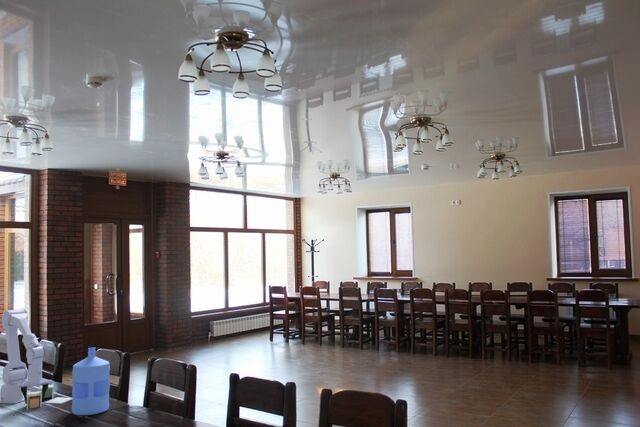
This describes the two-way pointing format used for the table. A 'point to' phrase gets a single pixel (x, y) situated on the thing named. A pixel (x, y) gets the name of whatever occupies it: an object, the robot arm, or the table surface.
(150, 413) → the table surface
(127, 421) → the table surface
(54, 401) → the blue-grey mat
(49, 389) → the sage green cube
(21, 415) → the table surface
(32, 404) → the terracotta cube
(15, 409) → the table surface
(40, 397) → the tan framed cube
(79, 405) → the water jug
